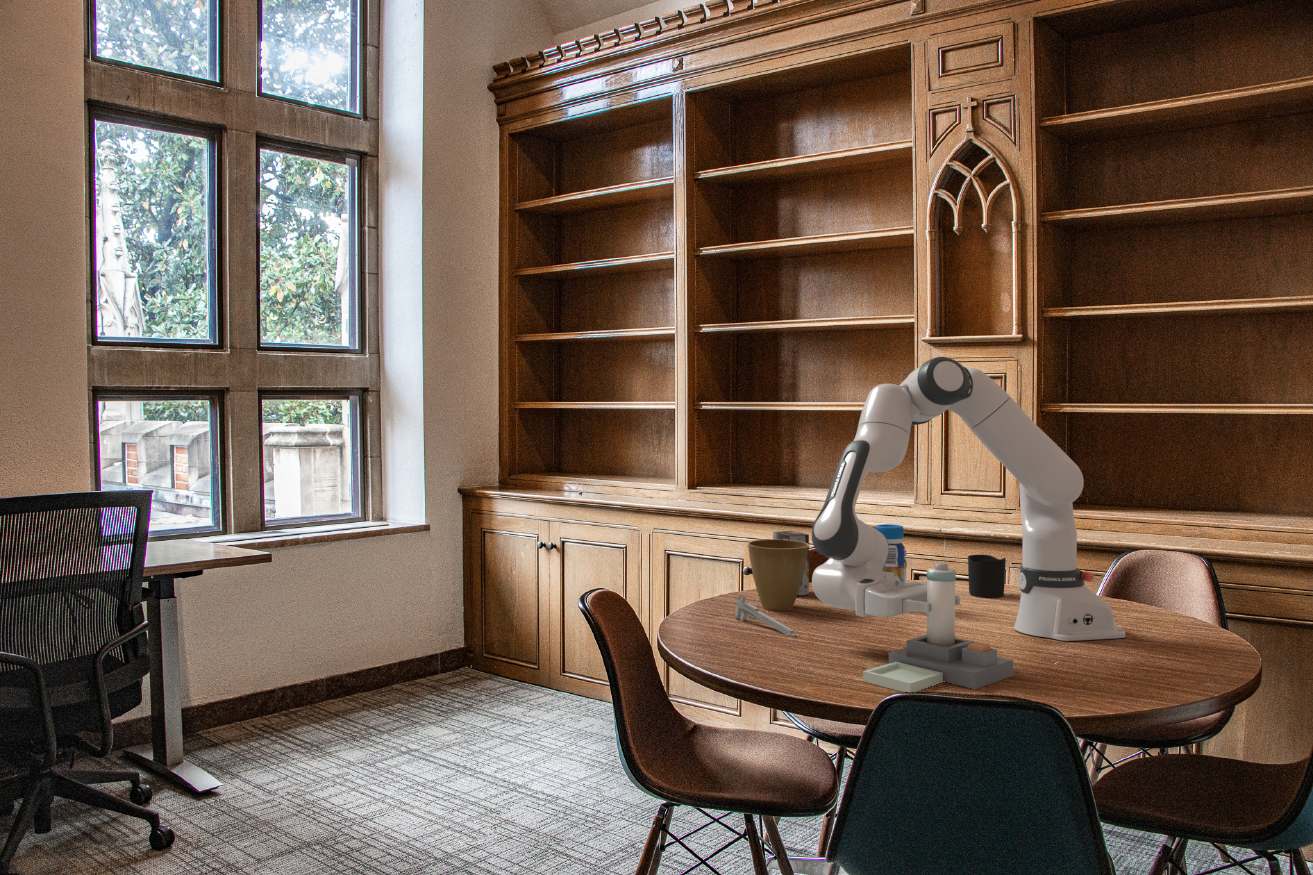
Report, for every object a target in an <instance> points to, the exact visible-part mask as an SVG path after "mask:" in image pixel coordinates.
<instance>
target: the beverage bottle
mask: <svg viewBox="0 0 1313 875" xmlns="http://www.w3.org/2000/svg"><path fill="white" fill-rule="evenodd" d="M875 529H876V530H878V531H879V532H881V533H882V534H883V535H884V536H885V537H886V539H887V541H888V544H889V554H888V558H887V561H886V564H885V566H884V569H883V571H885V572H891V573H894V574H896V575H897V576H898V577H899V579H900V581H902V582H903V584H906V583H907V567H908V563H907V560H906V556H907V550H906V547H905V546H904V544H903V542H902V540H904V535H905V534H904V530H905V528H904V525H902V524H892V523H891V524H890V523H889V524H888V523H887V524H886V523H884V524H883V523H882V524H877V525H876V527H875Z"/></svg>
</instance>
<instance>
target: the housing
mask: <svg viewBox="0 0 1313 875" xmlns="http://www.w3.org/2000/svg"><path fill="white" fill-rule="evenodd" d="M975 642H976V641H974V640H969V639H965V638H964V639H963V638H959V637H955V645H952V646H948V647H944V646H939V645H934V644H930V643H927V634H925V635H922V636H918V637H914V638H911V639H907V640H906V647H904V648H902V649H896V650H894V651H890V652H888V664H890V663H893V662H899V663H904V664H908V665H912V666H916V667H920V668H925V669H929V670H933V671H937V672H941V673H943V681H945V682H948V683H947V684H949V683H954V684H957V685H961V686H965V687H967V689H970V688H971V689H970V690H974V691H977V690H978V689H981V688H984V687H986V686H989V685H992V684H995V683H997V682H1000V681H1003V679H1004V680H1006V679H1009V678H1011V677H1013V676H1014V659H1012V658H1011V659H1010V658H1007V657H1006V658H1005V657H1001V656H998V649H996V648H992V647H991V650H989V651H986V652H978V651H974V650H969V649H968V644H971V643H975ZM945 682H944V683H945ZM957 685H956V686H957ZM961 686H960V687H961ZM965 687H964V688H965Z"/></svg>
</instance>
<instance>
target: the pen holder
mask: <svg viewBox="0 0 1313 875" xmlns="http://www.w3.org/2000/svg"><path fill="white" fill-rule="evenodd" d="M1006 560H1007V559H1006V557H1003V558H1001V559H999V558H997V557H995V556H992V555H989V554H971V555H968V556H967V568H968V569H967V570H968V572H967V573H968V593H969V594H970V596H972V597H976V598H983V599H996V598H997V599H998V598H1002V597H1003V596H1004V595H1005V585H1006V584H1005V583H1006V582H1005V581H1006V580H1005V579H1006V563H1007V561H1006Z"/></svg>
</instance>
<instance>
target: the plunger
mask: <svg viewBox="0 0 1313 875" xmlns="http://www.w3.org/2000/svg"><path fill="white" fill-rule="evenodd" d="M991 645H992V644H989V643H984V642H979V641H975V643H971V644H968V649H969V650H974V651H978V652H986V651H989V650H991V648H992V647H991Z"/></svg>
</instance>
